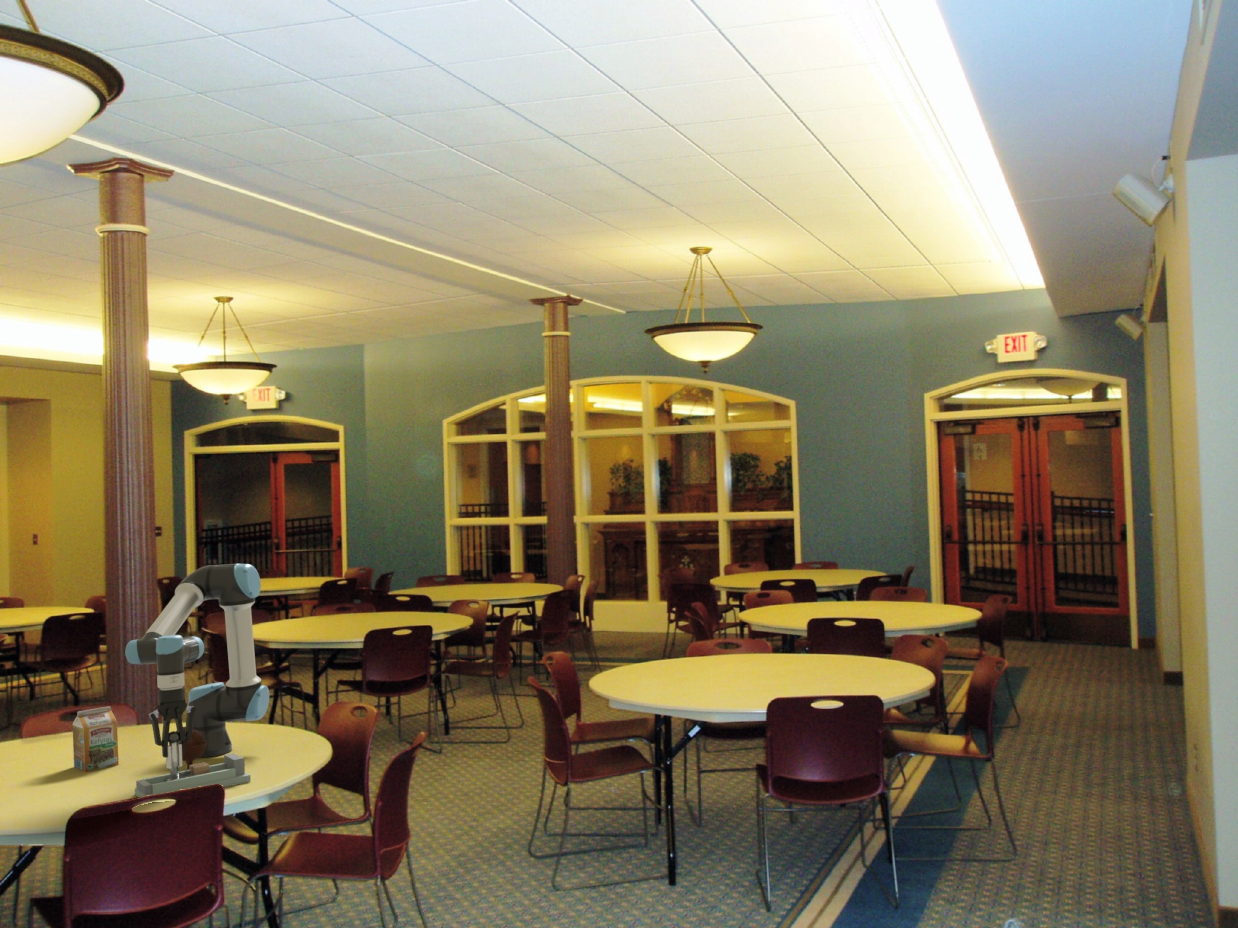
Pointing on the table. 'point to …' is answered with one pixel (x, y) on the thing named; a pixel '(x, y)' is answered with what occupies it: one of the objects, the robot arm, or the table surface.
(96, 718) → the milk carton
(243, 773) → the grey slotted track
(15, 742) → the table surface
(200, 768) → the walnut block
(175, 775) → the lever
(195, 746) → the ice cream bowl
